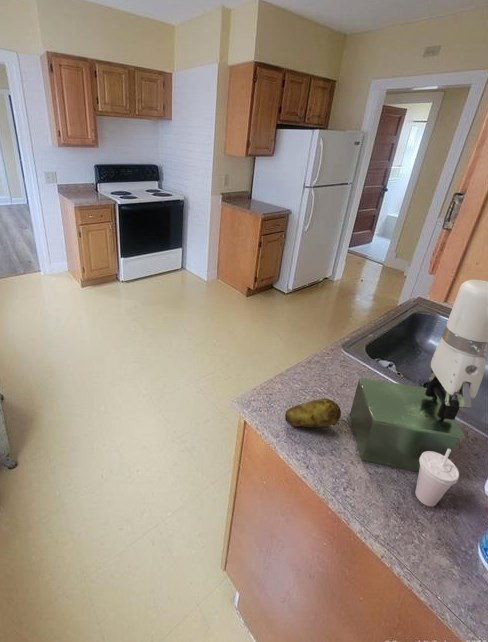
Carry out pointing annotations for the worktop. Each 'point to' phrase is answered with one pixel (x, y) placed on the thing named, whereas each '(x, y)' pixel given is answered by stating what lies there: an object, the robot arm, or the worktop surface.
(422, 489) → the smoothie
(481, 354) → the robot arm
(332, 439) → the worktop surface
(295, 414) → the potato
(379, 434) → the caddy
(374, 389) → the lid
